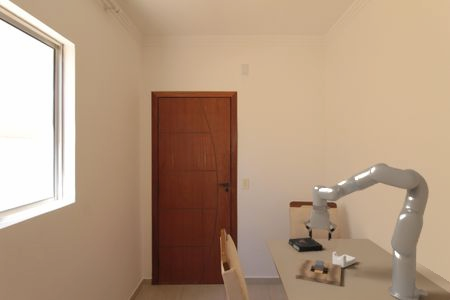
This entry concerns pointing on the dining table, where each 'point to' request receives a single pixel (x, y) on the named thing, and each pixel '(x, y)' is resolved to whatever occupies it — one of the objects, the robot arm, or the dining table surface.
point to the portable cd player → (305, 244)
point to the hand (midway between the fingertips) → (320, 238)
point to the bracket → (343, 260)
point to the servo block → (319, 267)
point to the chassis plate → (307, 274)
